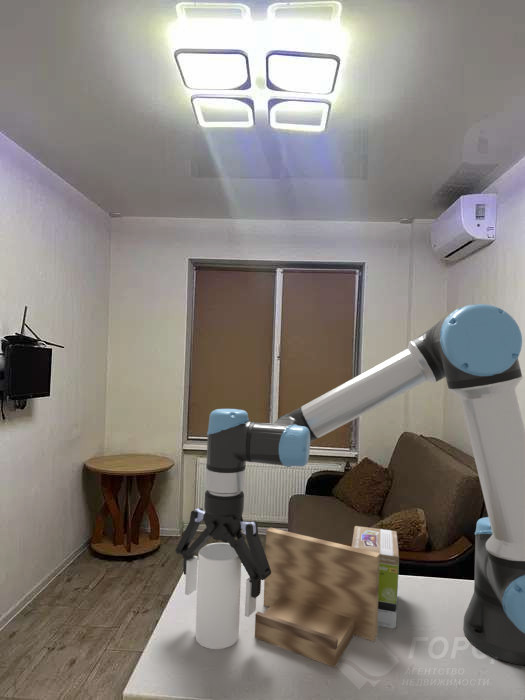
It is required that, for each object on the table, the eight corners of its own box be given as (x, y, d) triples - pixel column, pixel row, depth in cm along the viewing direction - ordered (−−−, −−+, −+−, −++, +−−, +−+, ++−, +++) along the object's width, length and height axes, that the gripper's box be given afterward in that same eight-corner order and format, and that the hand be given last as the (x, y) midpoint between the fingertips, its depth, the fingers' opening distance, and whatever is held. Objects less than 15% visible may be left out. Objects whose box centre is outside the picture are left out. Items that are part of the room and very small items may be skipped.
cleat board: (377, 636, 89) (379, 553, 90) (357, 675, 78) (360, 580, 78) (267, 601, 101) (270, 527, 101) (236, 631, 89) (239, 548, 90)
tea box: (397, 630, 91) (399, 555, 92) (346, 621, 94) (348, 548, 94) (395, 593, 106) (397, 529, 106) (351, 586, 109) (353, 523, 109)
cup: (244, 627, 90) (247, 546, 91) (230, 653, 83) (233, 563, 83) (205, 619, 93) (208, 540, 93) (188, 644, 85) (191, 556, 85)
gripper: (292, 497, 85) (286, 612, 85) (184, 475, 97) (180, 576, 97) (273, 508, 79) (268, 633, 79) (161, 483, 91) (155, 591, 90)
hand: (219, 602), depth 88 cm, fingers open, 13 cm apart
